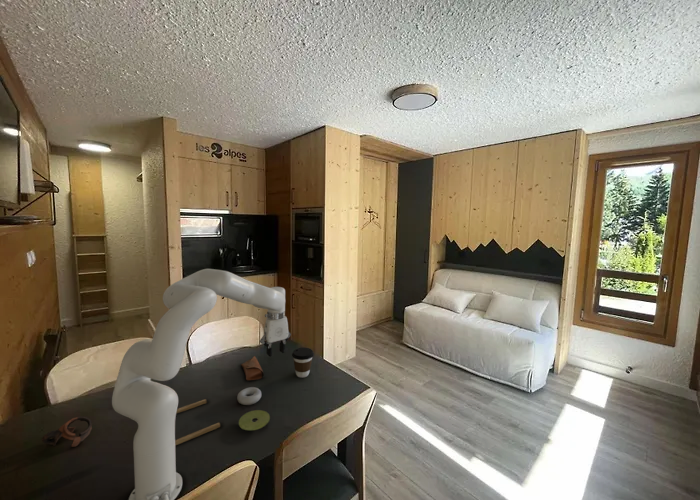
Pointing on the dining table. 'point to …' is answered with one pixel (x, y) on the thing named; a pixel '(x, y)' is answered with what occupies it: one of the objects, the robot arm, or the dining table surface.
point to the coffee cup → (302, 361)
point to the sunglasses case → (252, 369)
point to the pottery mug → (68, 433)
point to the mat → (254, 420)
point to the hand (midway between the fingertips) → (275, 353)
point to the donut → (249, 396)
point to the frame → (199, 430)
